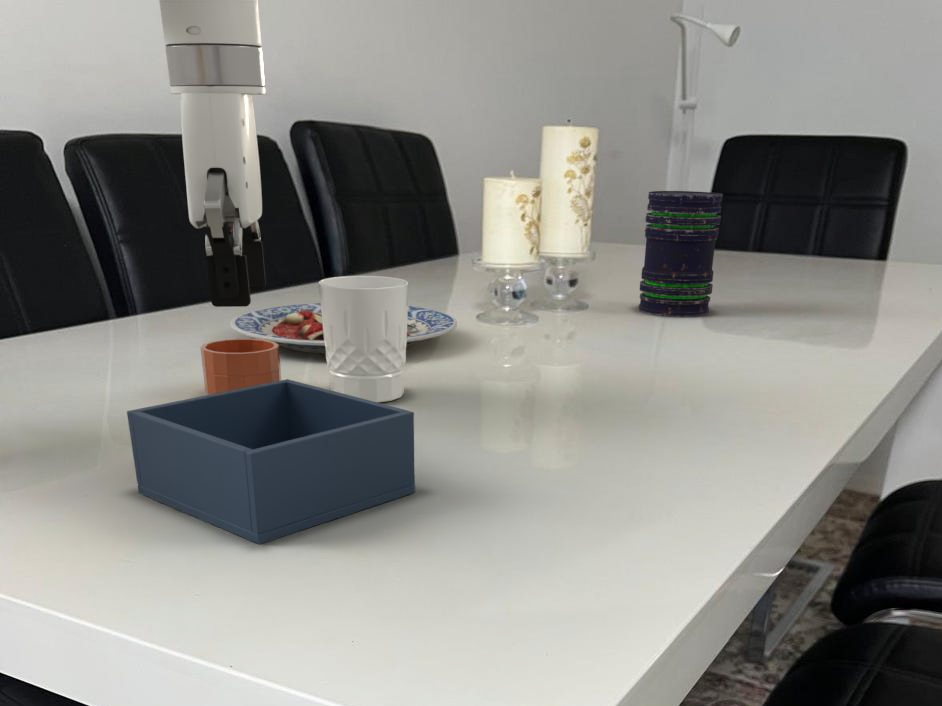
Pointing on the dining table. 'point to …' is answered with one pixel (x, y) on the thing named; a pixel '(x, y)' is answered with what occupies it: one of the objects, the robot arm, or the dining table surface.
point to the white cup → (365, 335)
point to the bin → (273, 456)
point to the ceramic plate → (305, 327)
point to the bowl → (239, 364)
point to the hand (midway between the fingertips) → (240, 296)
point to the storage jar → (679, 253)
